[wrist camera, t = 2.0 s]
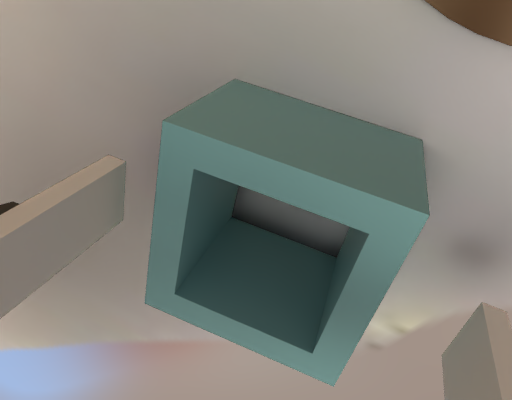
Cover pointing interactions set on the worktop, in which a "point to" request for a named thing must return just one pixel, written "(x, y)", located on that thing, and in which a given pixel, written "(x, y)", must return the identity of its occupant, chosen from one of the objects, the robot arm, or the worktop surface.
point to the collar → (272, 245)
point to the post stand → (480, 16)
